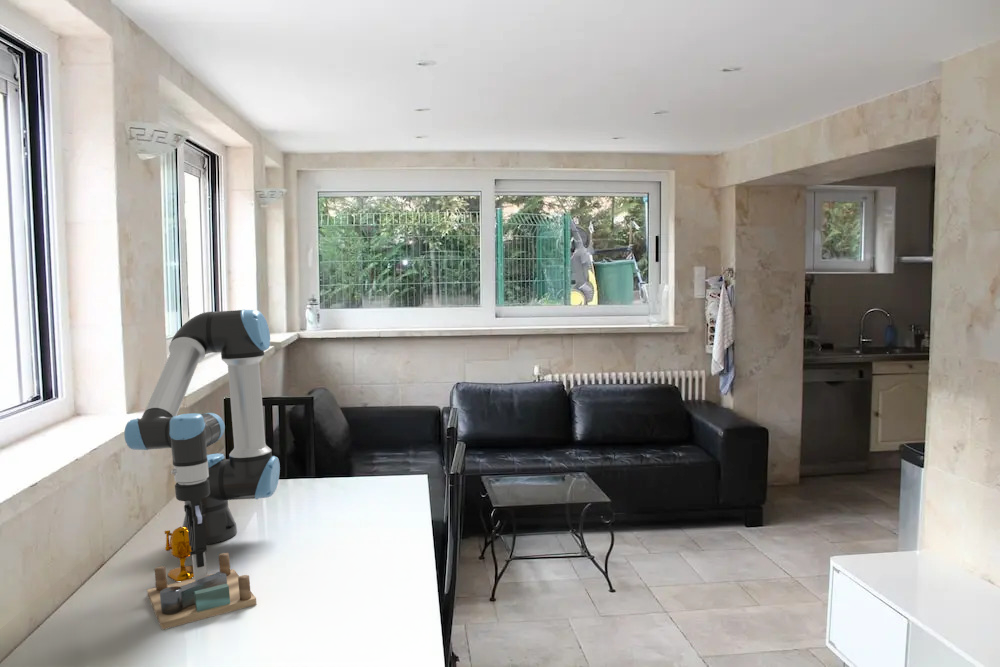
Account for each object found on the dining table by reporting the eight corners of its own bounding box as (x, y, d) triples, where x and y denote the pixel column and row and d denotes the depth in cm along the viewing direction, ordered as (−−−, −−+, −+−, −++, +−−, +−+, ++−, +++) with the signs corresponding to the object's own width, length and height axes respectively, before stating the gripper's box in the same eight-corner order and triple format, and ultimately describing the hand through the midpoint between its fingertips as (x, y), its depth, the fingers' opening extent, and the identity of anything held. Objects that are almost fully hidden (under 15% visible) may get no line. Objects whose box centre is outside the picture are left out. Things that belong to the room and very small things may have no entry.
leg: (168, 615, 172) (166, 596, 171) (157, 611, 174) (155, 592, 174) (229, 590, 184) (228, 572, 183) (218, 586, 186) (217, 568, 186)
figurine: (205, 563, 207) (201, 519, 206) (201, 578, 197) (197, 531, 195) (170, 568, 205) (165, 523, 203) (164, 584, 194) (160, 536, 193)
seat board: (147, 595, 188) (145, 569, 187) (234, 574, 198) (231, 549, 197) (162, 629, 169) (159, 600, 168) (256, 604, 179) (254, 576, 179)
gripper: (170, 478, 188) (179, 574, 190) (179, 489, 177) (188, 591, 179) (203, 472, 192) (211, 566, 194) (214, 483, 181) (223, 583, 183)
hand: (200, 578), depth 186 cm, fingers closed
